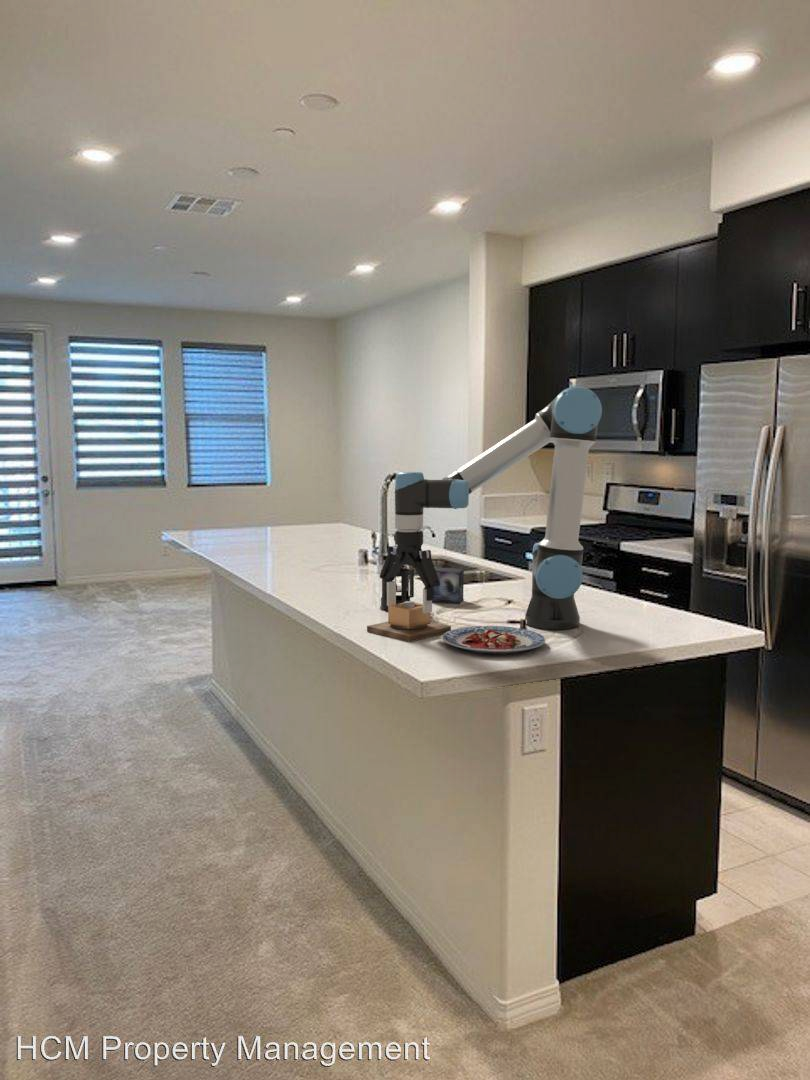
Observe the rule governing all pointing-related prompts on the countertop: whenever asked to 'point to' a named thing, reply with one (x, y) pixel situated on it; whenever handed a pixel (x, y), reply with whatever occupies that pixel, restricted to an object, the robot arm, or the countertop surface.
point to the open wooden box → (407, 616)
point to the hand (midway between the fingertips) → (409, 608)
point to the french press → (403, 588)
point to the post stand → (407, 633)
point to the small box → (449, 585)
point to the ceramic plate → (493, 639)
